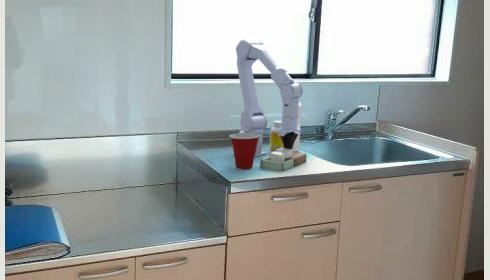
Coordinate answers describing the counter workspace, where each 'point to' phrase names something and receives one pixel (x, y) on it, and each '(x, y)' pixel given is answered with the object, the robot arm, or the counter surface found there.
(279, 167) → the tray
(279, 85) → the robot arm
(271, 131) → the supplement bottle
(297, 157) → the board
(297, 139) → the milk
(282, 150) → the tile back
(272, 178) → the counter surface
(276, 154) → the tile front
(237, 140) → the plastic cup
